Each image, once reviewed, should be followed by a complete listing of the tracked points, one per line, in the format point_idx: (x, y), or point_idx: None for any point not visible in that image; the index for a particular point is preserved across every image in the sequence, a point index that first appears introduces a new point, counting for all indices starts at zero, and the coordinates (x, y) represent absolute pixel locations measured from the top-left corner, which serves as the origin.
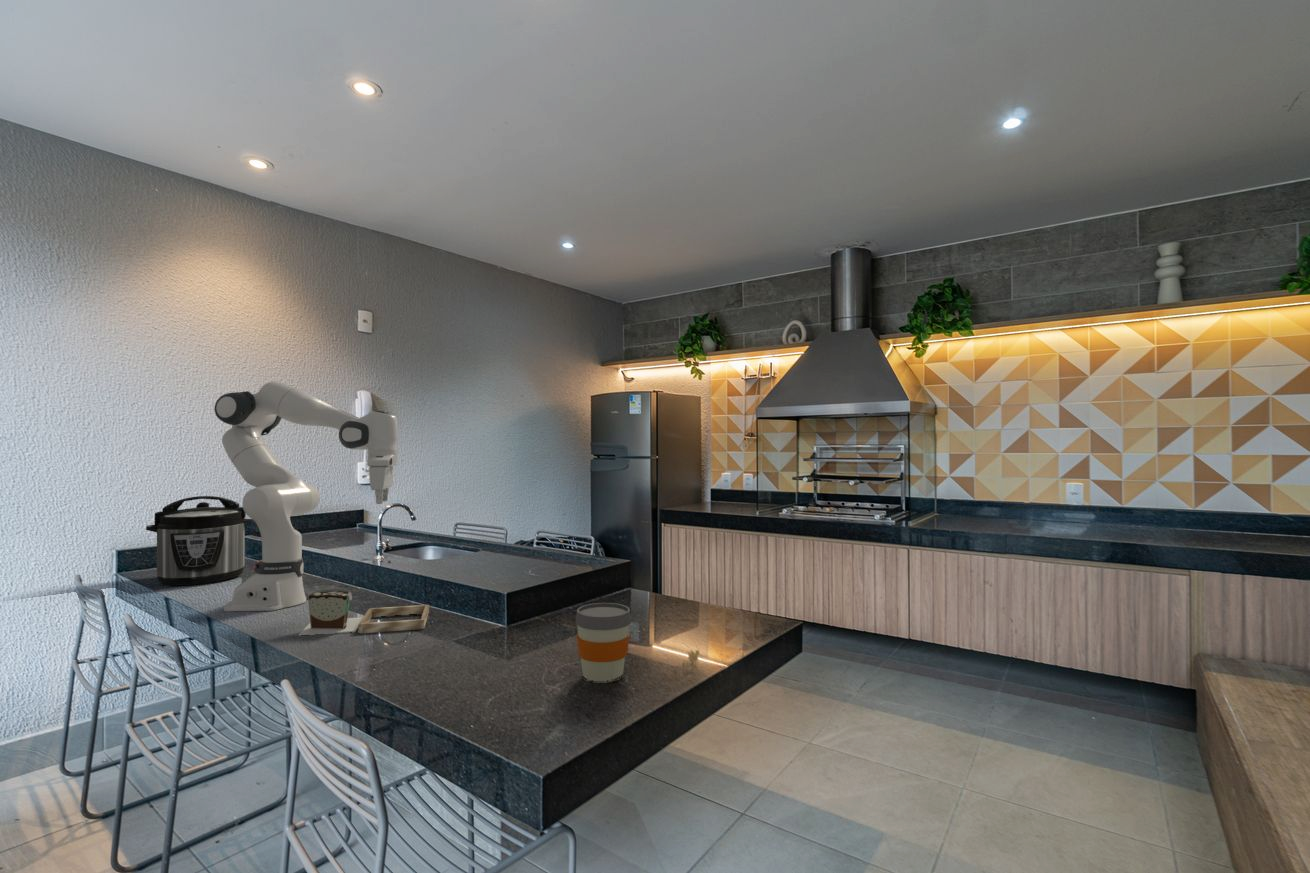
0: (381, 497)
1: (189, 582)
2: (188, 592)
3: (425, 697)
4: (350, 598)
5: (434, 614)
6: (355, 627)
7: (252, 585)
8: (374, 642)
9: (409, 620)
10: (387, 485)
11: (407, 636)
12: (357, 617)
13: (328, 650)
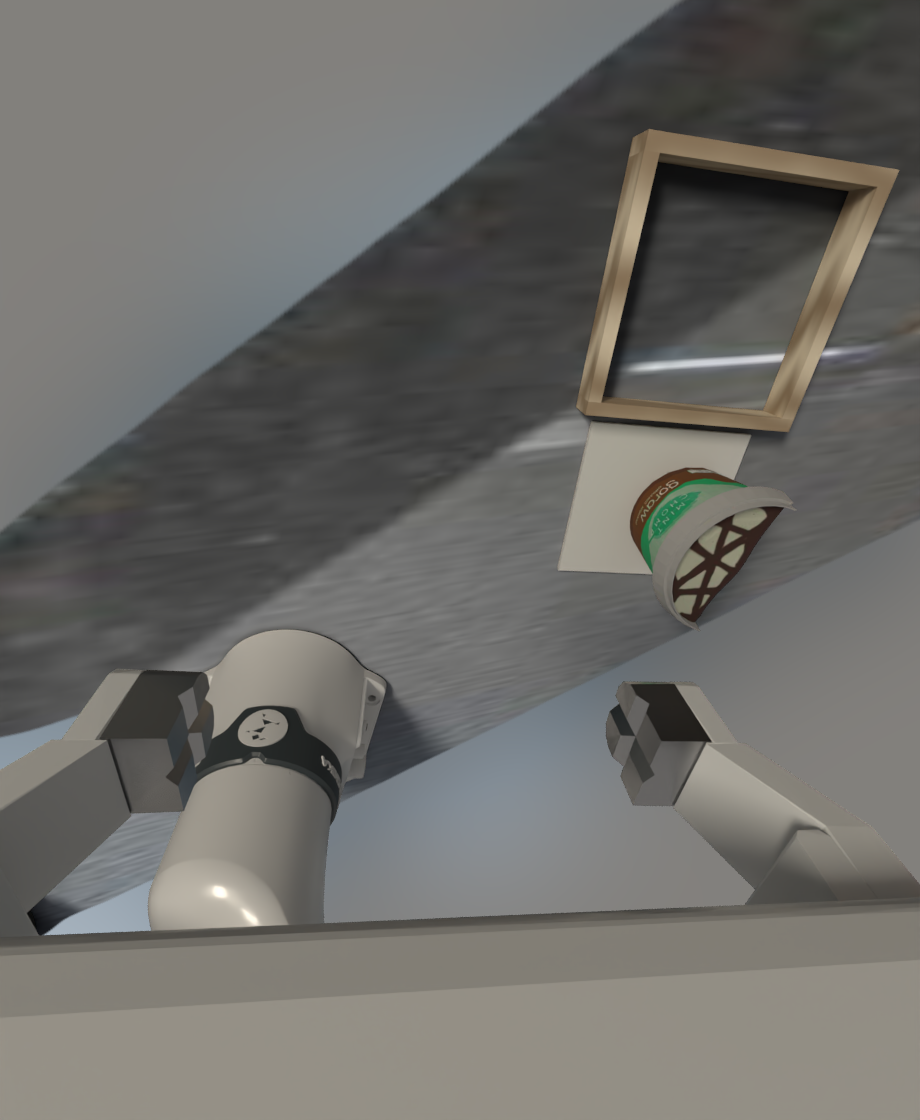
0: (763, 763)
1: (29, 914)
2: (114, 883)
3: None
4: (776, 492)
5: (672, 107)
6: (712, 438)
7: (343, 787)
8: (897, 364)
9: (861, 241)
10: (638, 1002)
11: (914, 249)
12: (587, 445)
13: (876, 483)
